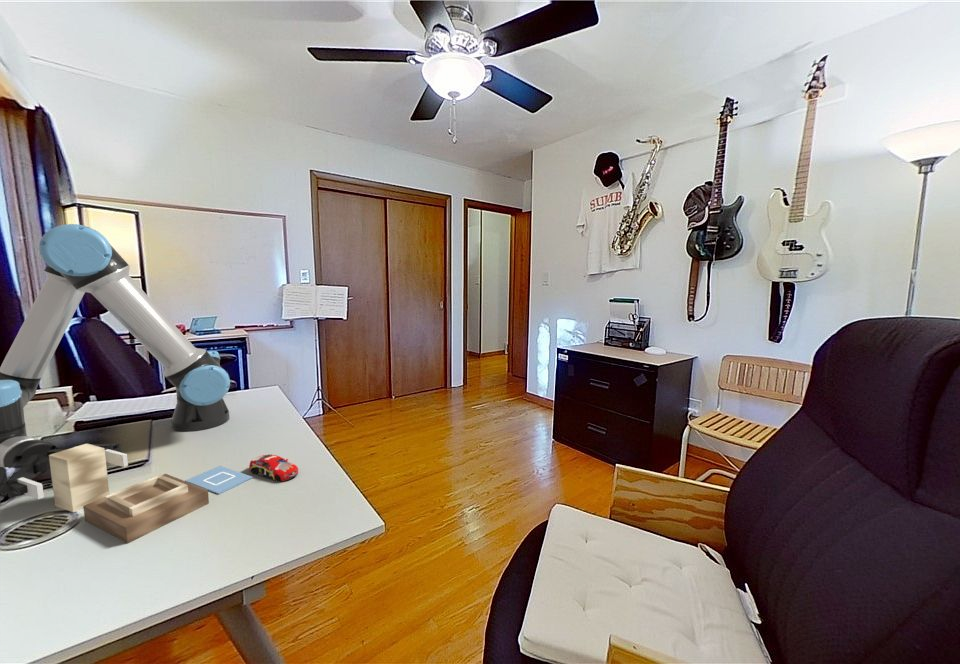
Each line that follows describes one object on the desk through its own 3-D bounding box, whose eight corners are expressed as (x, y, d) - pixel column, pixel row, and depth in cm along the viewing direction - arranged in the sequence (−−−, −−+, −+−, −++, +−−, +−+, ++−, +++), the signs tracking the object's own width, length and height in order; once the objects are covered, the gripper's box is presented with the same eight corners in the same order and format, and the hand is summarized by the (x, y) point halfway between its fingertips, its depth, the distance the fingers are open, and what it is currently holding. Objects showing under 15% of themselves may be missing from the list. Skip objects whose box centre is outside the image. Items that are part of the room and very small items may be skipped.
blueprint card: (220, 466, 98) (219, 465, 98) (252, 478, 93) (252, 476, 93) (185, 481, 91) (185, 480, 91) (218, 494, 86) (218, 492, 86)
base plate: (166, 486, 89) (165, 467, 88) (208, 503, 83) (207, 483, 82) (84, 520, 76) (82, 498, 75) (127, 543, 70) (125, 519, 69)
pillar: (92, 491, 86) (86, 443, 84) (109, 496, 84) (104, 448, 82) (55, 505, 80) (48, 455, 79) (73, 512, 78) (66, 460, 77)
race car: (303, 475, 96) (302, 460, 95) (283, 485, 91) (283, 469, 90) (266, 463, 101) (265, 448, 101) (246, 472, 96) (245, 456, 96)
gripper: (98, 449, 99) (155, 465, 92) (-62, 501, 76) (-2, 527, 69) (95, 421, 98) (152, 434, 91) (-68, 465, 75) (-8, 487, 68)
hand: (86, 474), depth 80 cm, fingers open, 13 cm apart
